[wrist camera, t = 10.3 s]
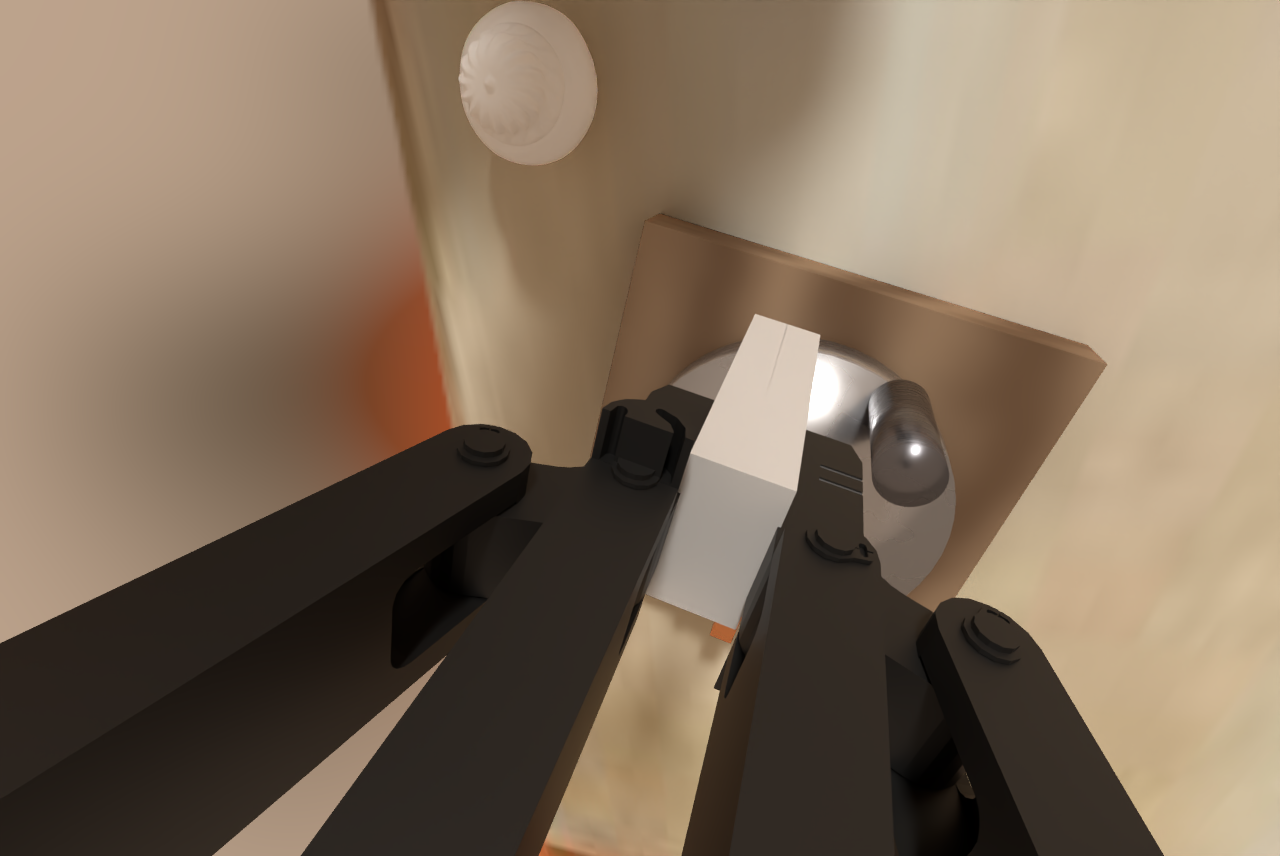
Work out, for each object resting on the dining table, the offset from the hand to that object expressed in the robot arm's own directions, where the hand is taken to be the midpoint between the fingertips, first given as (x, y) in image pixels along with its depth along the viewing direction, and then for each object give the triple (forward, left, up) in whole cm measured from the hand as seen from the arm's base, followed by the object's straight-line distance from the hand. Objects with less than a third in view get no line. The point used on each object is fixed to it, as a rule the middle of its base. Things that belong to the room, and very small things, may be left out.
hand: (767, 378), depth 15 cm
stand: (+3, -11, -17) cm, 20 cm away
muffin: (-13, +3, -17) cm, 22 cm away
